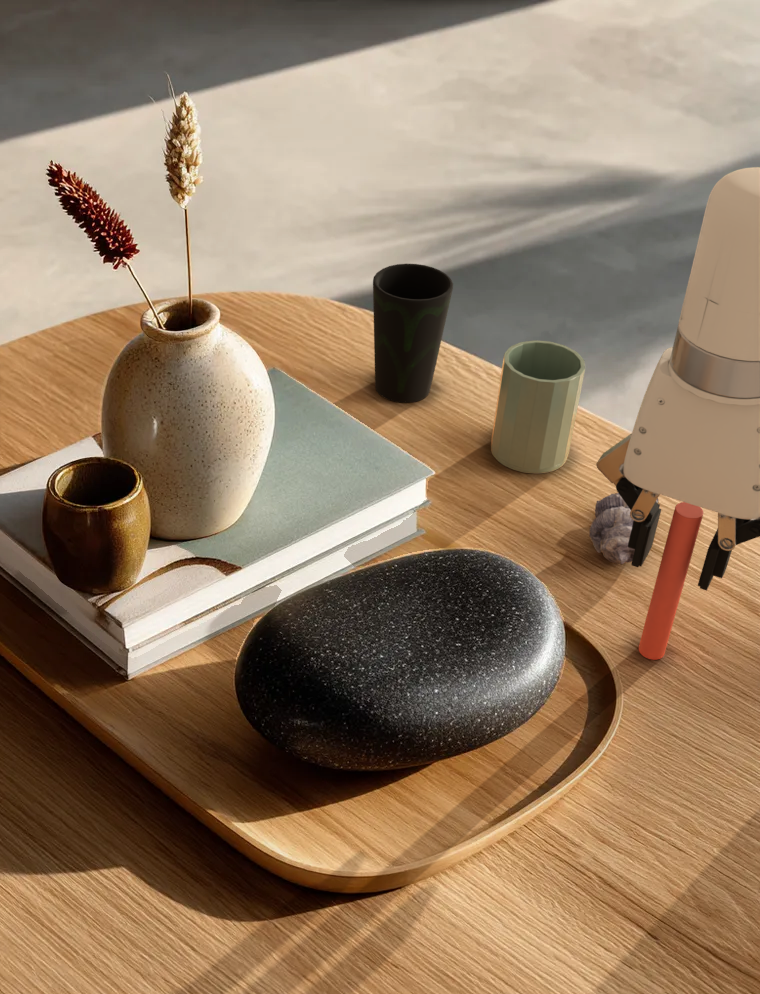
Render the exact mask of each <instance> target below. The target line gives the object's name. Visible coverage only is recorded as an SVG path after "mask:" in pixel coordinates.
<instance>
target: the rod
mask: <svg viewBox="0 0 760 994" xmlns="http://www.w3.org/2000/svg"><path fill="white" fill-rule="evenodd" d="M703 516H704V510H703V508H702V507H698V506H695V505H692V504H689V503H686V502H682V501H680V502H679V503H677V504H676V505H675V507H674V509H673V513H672V518H671V522H670V525H669V529H668V533H667V537H666V540H665V545H664V548H663V552H662V555H661V560H660V564H659V567H658V572H657V574H656V575H657V576H656V580H655V583H654V587H653V591H652V594H651V599H650V602H649V606H648V610H647V614H646V617H645V621H644V625H643V629H642V632H641V637H640V641H639V644H638V652H639V654H640V655H641V656H642V657H644V658H645V659H648V660H653V661H656V660H657V661H658V660H661V659H662V658H663V657H665V653H666V650H667V646H668V643H669V640H670V636H671V633H672V629H673V625H674V622H675V617H676V613H677V610H678V607H679V603H680V600H681V596H682V592H683V589H684V585H685V581H686V578H687V574H688V571H689V567H690V564H691V560H692V557H693V553H694V549H695V545H696V542H697V539H698V534H699V532H700V529H701V528H700V527H701V524H702V520H703V518H704V517H703Z"/></svg>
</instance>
